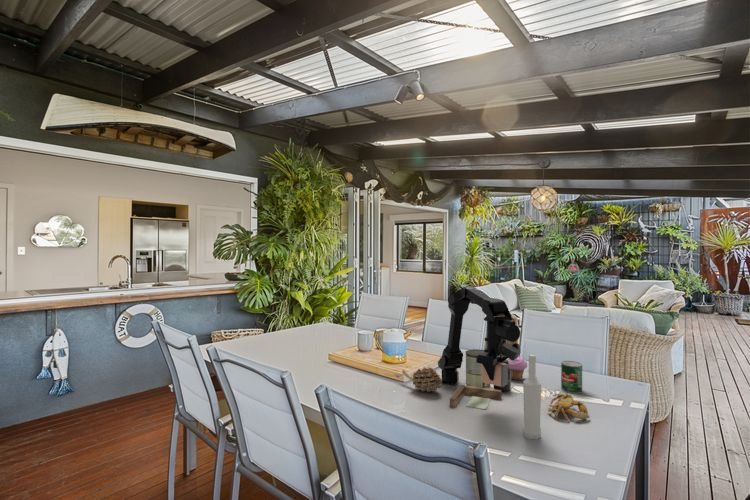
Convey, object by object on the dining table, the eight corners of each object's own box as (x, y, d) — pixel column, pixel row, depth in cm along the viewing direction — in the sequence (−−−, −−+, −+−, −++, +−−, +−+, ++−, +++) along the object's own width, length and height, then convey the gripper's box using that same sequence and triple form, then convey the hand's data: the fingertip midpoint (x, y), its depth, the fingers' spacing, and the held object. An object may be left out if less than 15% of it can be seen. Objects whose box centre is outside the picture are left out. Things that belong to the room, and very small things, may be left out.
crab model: (588, 427, 134) (588, 410, 133) (546, 418, 140) (546, 403, 140) (590, 410, 147) (590, 395, 147) (552, 403, 153) (552, 389, 153)
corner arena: (449, 406, 150) (449, 398, 150) (460, 391, 165) (460, 384, 165) (494, 414, 143) (494, 405, 143) (501, 397, 159) (501, 390, 159)
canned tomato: (582, 388, 169) (582, 362, 169) (582, 394, 162) (582, 367, 162) (561, 385, 173) (561, 359, 173) (560, 391, 165) (561, 364, 165)
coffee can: (466, 380, 180) (466, 348, 180) (491, 382, 176) (491, 350, 176) (464, 388, 170) (464, 354, 170) (489, 390, 167) (489, 356, 167)
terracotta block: (481, 382, 147) (481, 362, 147) (486, 378, 151) (486, 359, 151) (503, 387, 142) (503, 367, 142) (507, 383, 146) (508, 364, 146)
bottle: (520, 432, 129) (520, 353, 129) (536, 431, 130) (536, 353, 130) (527, 439, 124) (527, 357, 124) (544, 439, 125) (544, 357, 124)
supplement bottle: (511, 393, 164) (511, 363, 164) (494, 391, 166) (494, 362, 165) (509, 387, 171) (509, 358, 171) (492, 386, 172) (492, 357, 172)
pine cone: (448, 393, 164) (448, 368, 164) (433, 399, 157) (433, 373, 157) (407, 380, 180) (407, 357, 180) (392, 385, 173) (392, 362, 173)
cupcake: (505, 380, 180) (505, 357, 180) (506, 374, 188) (506, 353, 188) (526, 383, 176) (526, 359, 176) (527, 377, 184) (527, 354, 184)
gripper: (507, 344, 134) (506, 391, 134) (526, 334, 148) (526, 376, 149) (475, 338, 141) (475, 383, 141) (497, 329, 155) (496, 370, 156)
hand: (494, 378), depth 146 cm, fingers closed on terracotta block, 4 cm apart
